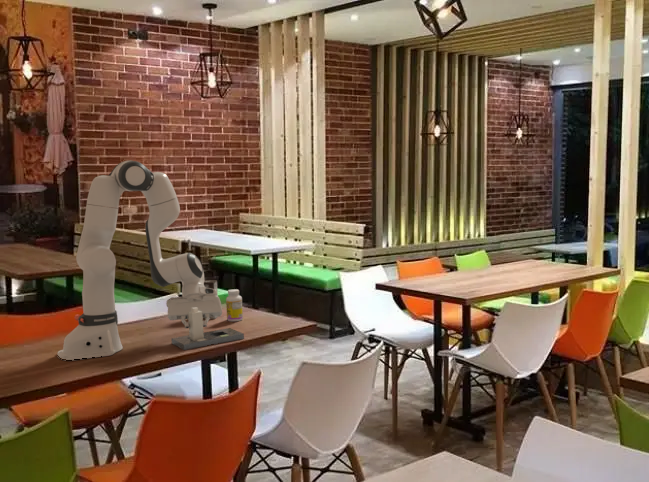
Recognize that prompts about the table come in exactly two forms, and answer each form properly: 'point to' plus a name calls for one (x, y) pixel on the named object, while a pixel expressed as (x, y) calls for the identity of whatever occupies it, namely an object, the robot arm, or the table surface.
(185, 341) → the panel
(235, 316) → the supplement bottle
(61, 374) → the table surface
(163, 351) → the table surface
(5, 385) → the table surface
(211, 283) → the coffee box
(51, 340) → the table surface
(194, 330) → the plug
